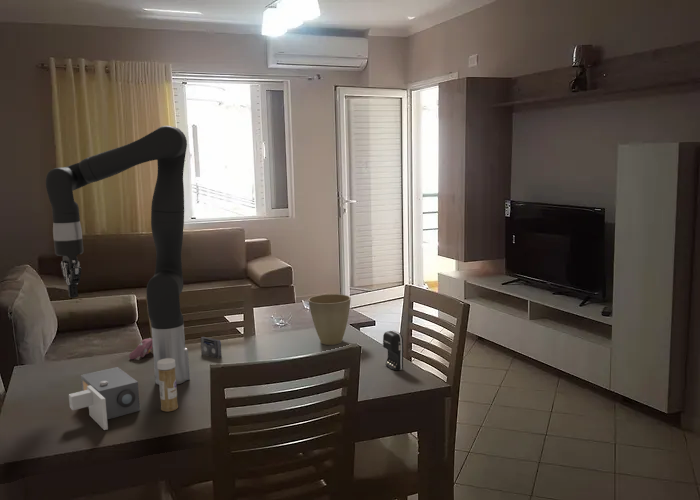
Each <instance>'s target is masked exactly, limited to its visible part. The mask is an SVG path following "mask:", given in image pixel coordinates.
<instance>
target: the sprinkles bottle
mask: <svg viewBox="0 0 700 500" xmlns="http://www.w3.org/2000/svg"><path fill="white" fill-rule="evenodd" d="M157 367H158V370H159V385H158V387H159V398H160V405H161V406H160V410H161V411H162V412H173V411H176V410H177V409H178V408H179V404H178V390H177V385H176V377H175V360H174V359H172V358H166V359H161V360H159V361H158V362H157Z"/></svg>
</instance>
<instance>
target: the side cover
mask: <svg viewBox="0 0 700 500" xmlns="http://www.w3.org/2000/svg"><path fill="white" fill-rule="evenodd" d="M68 402H69V408H70V409H71V411H75V410H80V409H85V408H88V406H89V408H88V413H89V417H91V419H93V421H94V422H95V423H97V425H99V427H100V428H101V429H103V430H104V431H106V430H109V424H108V419H107V413H106V401H105V398H104V397H103V396H102V395H101V394H100V393H99V392H98V391H96V390H95V389H94V388H93V387H92V386H91V385H89V386H87V390H84V391H82V390H80V391H77V392H72V393H69V394H68Z"/></svg>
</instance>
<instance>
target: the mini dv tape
mask: <svg viewBox="0 0 700 500" xmlns="http://www.w3.org/2000/svg"><path fill="white" fill-rule="evenodd" d="M200 350H201V351H200V352H201V354H200V355H203V356H206V357H212V358H214V359H220V358H222V356H223V355H222V342H221V340H219V339H215V338H210V337H205V336H201V337H200Z"/></svg>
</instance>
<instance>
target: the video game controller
mask: <svg viewBox="0 0 700 500" xmlns="http://www.w3.org/2000/svg"><path fill="white" fill-rule="evenodd" d="M152 350H153V341H152V338H151V337H149V338H144V339H142V341H141V342H140V343H139V344H138V345H137V346H136V348H135V349H133V351H131V352H130V353H129V355H128V358H129V359H130V360H136V359H137V358H140V357H141V358H144V357H145V356H146V355H149V354H150V353H151V351H152Z"/></svg>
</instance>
